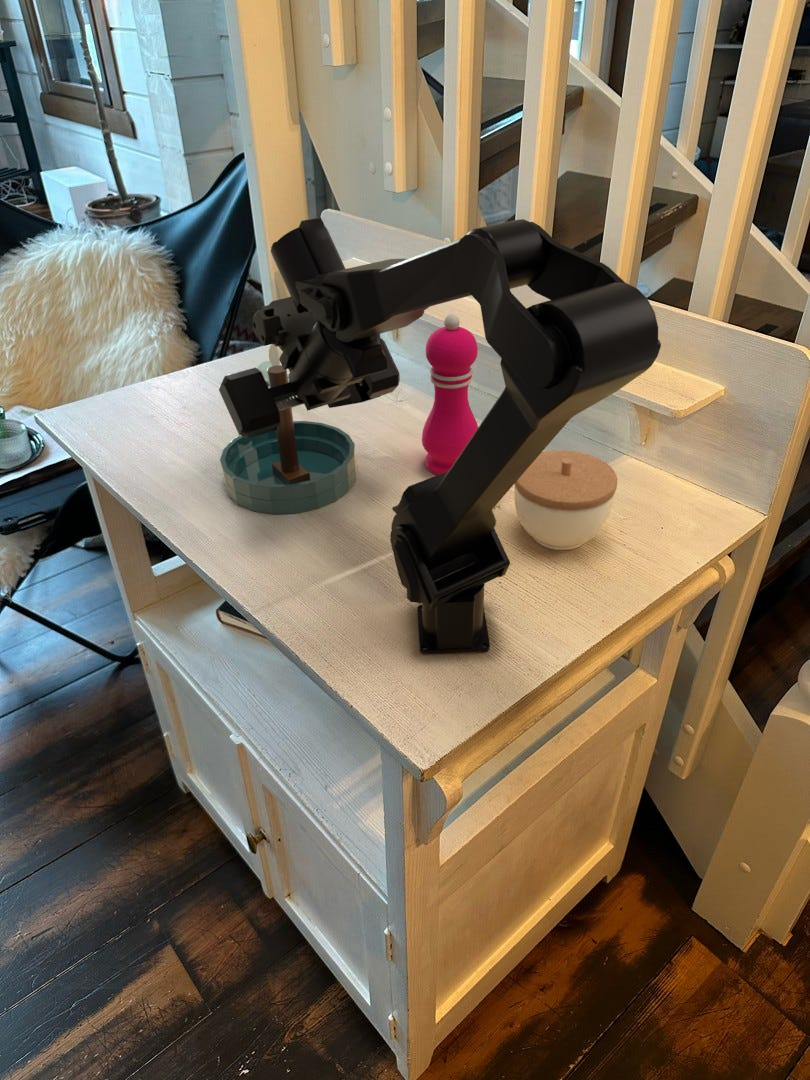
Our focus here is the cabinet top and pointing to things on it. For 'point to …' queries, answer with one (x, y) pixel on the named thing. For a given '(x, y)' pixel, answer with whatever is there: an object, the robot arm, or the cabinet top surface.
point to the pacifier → (271, 361)
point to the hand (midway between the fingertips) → (293, 414)
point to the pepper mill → (449, 395)
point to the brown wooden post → (286, 437)
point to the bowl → (318, 453)
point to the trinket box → (564, 498)
